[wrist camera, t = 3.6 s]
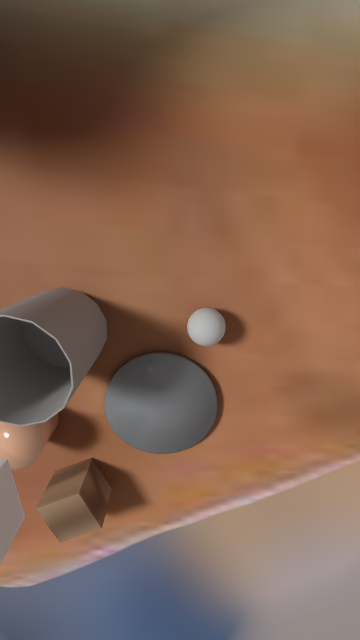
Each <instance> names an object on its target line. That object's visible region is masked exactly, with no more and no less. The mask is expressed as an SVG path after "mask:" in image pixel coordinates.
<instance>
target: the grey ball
mask: <svg viewBox="0 0 360 640" xmlns="http://www.w3.org/2000/svg"><path fill="white" fill-rule="evenodd" d="M225 329H226V324H225V320H224V318H223V316H222V315H221V314H220V313H219V312H218V311H216V310H214V309H212V308H201V309H198V310H197V311H195V312H194V313H193V314H192V315H191V316H190V318H189V320H188V324H187V330H188V334H189V336H190V338H191V339H192V340H193V341H194V342H195V343H197V344H199V345H202V346H211V345H214V344H216V343H218V342H219V341H220V340H221V339H222V337H223V336H224V334H225Z"/></svg>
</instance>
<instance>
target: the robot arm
mask: <svg viewBox="0 0 360 640" xmlns="http://www.w3.org/2000/svg"><path fill="white" fill-rule="evenodd" d="M24 519H25V515H24V511H23V508H22V505H21V501H20V498H19V495H18V491H17V488H16V485H15V481H14V478H13V475H12V471H11V468H10V464H9V461H8V459H0V564H1V562H2V560H3V559H4V557H5V555H6V553H7V551H8V549H9V547H10V545H11V544H12V542H13V540H14V538H15V536H16V534H17V532H18V531H19V529H20V527H21V525H22V523H23V521H24Z"/></svg>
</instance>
